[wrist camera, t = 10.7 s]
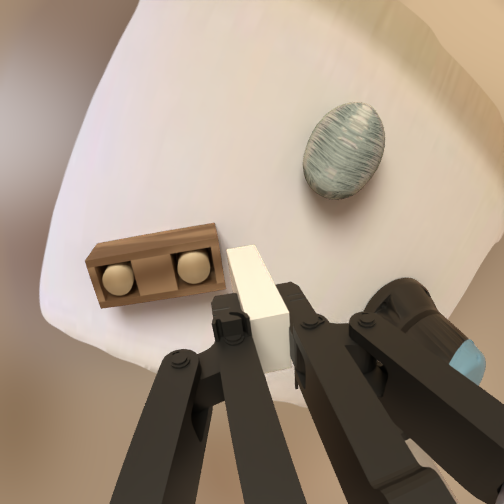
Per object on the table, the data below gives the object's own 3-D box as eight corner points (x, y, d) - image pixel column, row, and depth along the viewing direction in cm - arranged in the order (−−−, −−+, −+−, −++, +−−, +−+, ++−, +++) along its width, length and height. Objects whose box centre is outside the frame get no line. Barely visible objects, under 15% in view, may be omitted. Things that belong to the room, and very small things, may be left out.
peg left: (140, 275, 43) (135, 293, 39) (115, 279, 43) (107, 297, 38) (134, 249, 42) (127, 264, 37) (107, 254, 41) (98, 269, 37)
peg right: (210, 264, 44) (212, 280, 40) (181, 268, 44) (181, 285, 39) (205, 237, 43) (207, 251, 38) (176, 242, 42) (174, 256, 38)
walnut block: (221, 268, 46) (225, 289, 41) (110, 287, 44) (101, 308, 39) (214, 222, 43) (218, 237, 38) (97, 243, 41) (84, 260, 36)
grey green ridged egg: (345, 220, 43) (362, 204, 33) (286, 185, 44) (287, 161, 34) (385, 144, 43) (406, 114, 33) (330, 113, 44) (339, 77, 34)
